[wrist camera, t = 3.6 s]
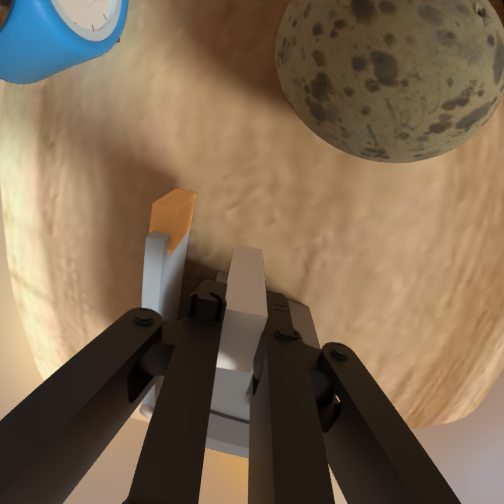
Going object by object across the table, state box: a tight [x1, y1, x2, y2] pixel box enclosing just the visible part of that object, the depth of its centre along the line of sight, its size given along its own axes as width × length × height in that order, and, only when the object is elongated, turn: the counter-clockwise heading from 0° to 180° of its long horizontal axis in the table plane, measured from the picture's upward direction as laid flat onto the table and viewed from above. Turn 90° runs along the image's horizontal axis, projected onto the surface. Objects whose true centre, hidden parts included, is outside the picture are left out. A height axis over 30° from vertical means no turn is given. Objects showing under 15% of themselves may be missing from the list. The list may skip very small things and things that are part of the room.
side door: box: [140, 188, 197, 418], centre depth 20 cm, size 16×2×7 cm, turn 168°
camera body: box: [205, 271, 320, 458], centre depth 21 cm, size 11×8×10 cm
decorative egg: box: [275, 0, 504, 163], centre depth 11 cm, size 11×11×15 cm
